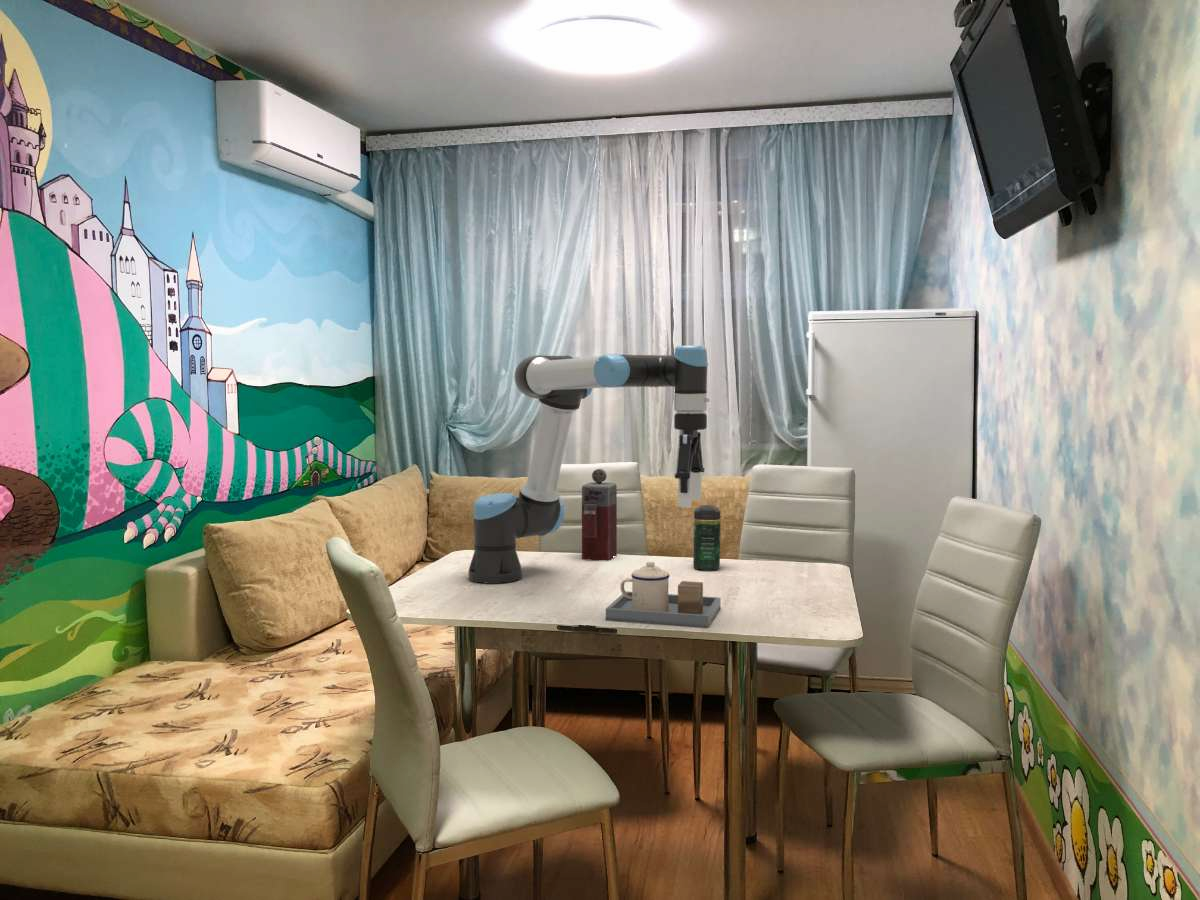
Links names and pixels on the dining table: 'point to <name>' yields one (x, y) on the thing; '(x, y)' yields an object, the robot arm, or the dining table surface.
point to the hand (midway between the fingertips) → (690, 503)
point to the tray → (624, 612)
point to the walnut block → (690, 597)
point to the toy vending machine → (599, 518)
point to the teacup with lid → (648, 588)
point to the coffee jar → (706, 537)
